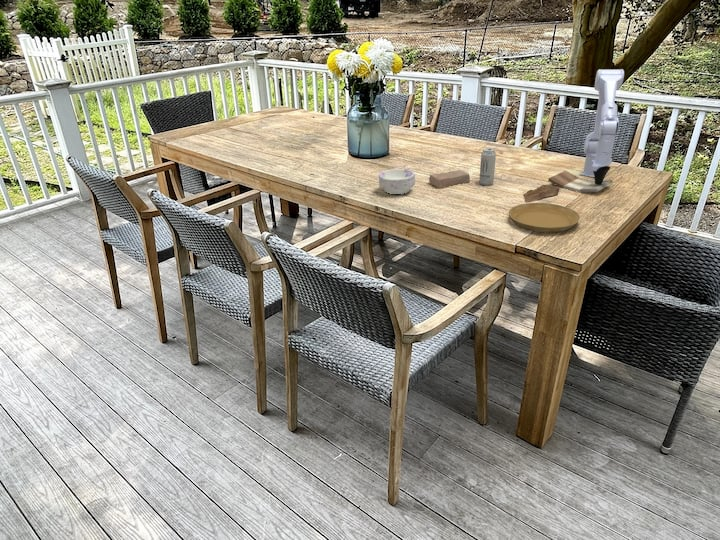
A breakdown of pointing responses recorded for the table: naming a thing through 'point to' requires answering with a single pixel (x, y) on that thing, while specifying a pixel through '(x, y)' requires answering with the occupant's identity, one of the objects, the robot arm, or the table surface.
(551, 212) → the plant saucer
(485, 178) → the energy drink can
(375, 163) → the table surface
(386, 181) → the paper bowls
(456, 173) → the brick
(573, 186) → the ash board
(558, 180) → the walnut plank
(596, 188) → the grey oak plank
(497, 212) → the table surface
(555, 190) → the fossil skeleton slab
